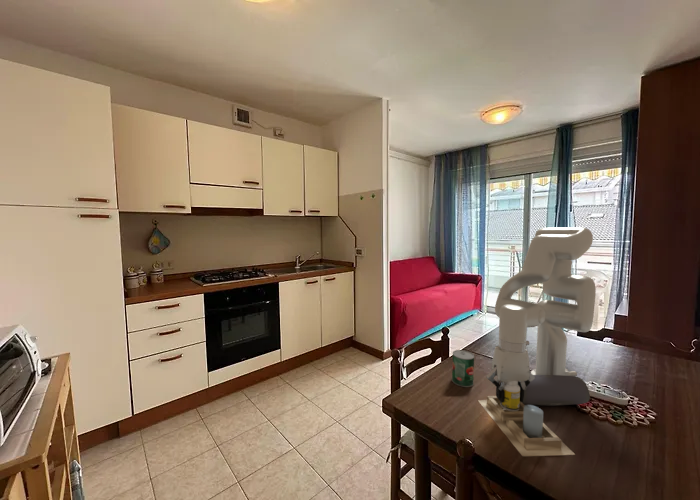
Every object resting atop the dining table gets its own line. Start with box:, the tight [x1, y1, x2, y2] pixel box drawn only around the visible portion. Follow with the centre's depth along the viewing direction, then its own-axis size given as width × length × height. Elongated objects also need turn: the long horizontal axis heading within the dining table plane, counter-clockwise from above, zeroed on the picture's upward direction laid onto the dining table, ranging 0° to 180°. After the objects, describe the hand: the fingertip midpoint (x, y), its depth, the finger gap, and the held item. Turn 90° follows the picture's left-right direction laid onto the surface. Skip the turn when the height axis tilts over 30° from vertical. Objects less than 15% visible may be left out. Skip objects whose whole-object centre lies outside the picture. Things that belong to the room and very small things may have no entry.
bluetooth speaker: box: [522, 375, 591, 407], centre depth 96 cm, size 23×9×10 cm, turn 93°
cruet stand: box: [477, 395, 576, 457], centre depth 85 cm, size 24×14×4 cm, turn 2°
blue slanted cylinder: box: [523, 404, 544, 438], centre depth 80 cm, size 5×5×8 cm
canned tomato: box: [451, 349, 475, 388], centre depth 111 cm, size 8×8×11 cm
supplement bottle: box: [500, 381, 520, 412], centre depth 91 cm, size 5×5×10 cm
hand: (509, 399), depth 91 cm, fingers closed on supplement bottle, 5 cm apart
